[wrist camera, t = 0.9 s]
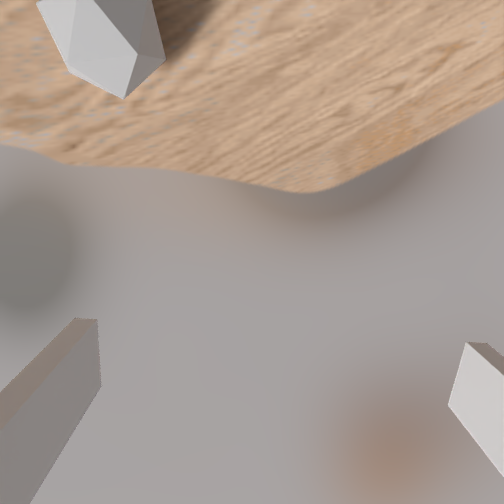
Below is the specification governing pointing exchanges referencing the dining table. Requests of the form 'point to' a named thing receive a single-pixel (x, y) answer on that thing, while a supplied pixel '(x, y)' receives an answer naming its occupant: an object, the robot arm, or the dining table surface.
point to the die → (106, 40)
